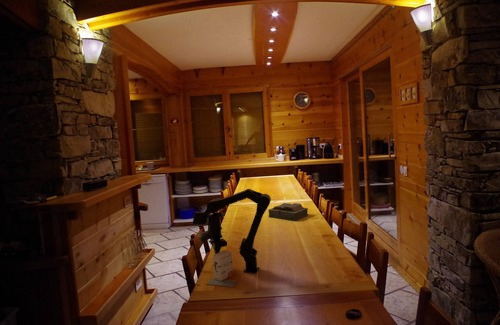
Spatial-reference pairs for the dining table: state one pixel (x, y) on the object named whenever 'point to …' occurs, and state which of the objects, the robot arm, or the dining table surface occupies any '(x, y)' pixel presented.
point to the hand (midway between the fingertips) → (216, 255)
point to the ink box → (222, 265)
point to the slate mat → (222, 283)
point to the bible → (288, 212)
